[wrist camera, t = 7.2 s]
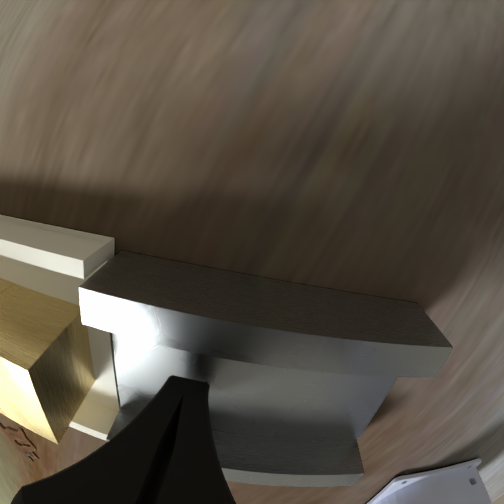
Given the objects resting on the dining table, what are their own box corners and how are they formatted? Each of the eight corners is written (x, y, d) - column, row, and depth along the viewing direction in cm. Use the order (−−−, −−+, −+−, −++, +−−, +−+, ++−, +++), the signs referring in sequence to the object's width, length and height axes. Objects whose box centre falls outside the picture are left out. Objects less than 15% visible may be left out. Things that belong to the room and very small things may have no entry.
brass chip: (85, 307, 10) (27, 370, 6) (95, 380, 12) (58, 444, 8) (14, 283, 10) (-45, 328, 6) (30, 354, 12) (-13, 403, 8)
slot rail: (417, 302, 10) (453, 347, 8) (343, 439, 13) (353, 485, 10) (121, 250, 10) (78, 287, 7) (129, 407, 13) (110, 452, 10)
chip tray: (114, 237, 10) (83, 260, 8) (124, 410, 13) (110, 442, 11) (-49, 204, 10) (-77, 215, 8) (-20, 346, 13) (-39, 364, 11)
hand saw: (128, 530, 24) (127, 534, 23) (99, 522, 24) (98, 525, 24) (25, 425, 16) (22, 430, 15) (-6, 412, 16) (-9, 417, 16)
